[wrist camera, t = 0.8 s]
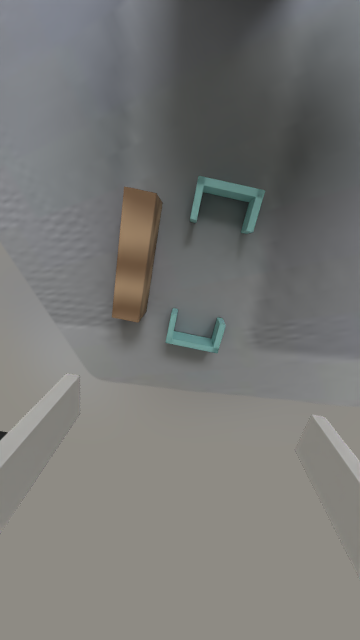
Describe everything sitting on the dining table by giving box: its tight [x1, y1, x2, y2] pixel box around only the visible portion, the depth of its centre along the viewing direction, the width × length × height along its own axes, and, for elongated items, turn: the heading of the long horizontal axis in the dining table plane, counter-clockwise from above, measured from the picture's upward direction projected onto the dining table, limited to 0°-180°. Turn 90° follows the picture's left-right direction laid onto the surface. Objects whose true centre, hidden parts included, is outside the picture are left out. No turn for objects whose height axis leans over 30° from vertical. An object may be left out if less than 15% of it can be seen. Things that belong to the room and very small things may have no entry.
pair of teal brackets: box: [166, 176, 265, 353], centre depth 28 cm, size 21×8×3 cm, turn 169°
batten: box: [112, 187, 162, 322], centre depth 27 cm, size 15×4×5 cm, turn 169°
